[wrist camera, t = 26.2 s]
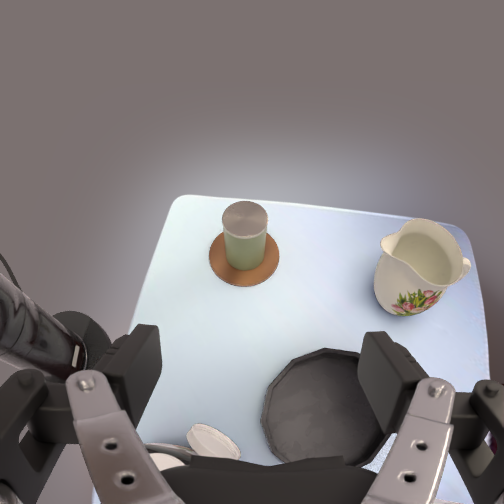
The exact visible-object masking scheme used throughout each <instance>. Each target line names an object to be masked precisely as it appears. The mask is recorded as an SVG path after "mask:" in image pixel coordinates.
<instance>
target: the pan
mask: <svg viewBox="0 0 504 504" xmlns="http://www.w3.org/2000/svg"><path fill="white" fill-rule="evenodd" d="M359 359H360V354H359V353H357V352H351V351H344V350H337V349H330V348H323V349H320V350H317V351H315V352H312V353H309V354H306V355H304V356H301V357H298V358H295V359H293V360H291V362H290V363H289V364H288V365H287V366H286V367H285V368H284V370H283V371H282V372H281V373H280V374H279V375H278V376H277V377H276V379H275V380H274V381H273V382H272V383H271V384H270V385H269V387H268V389H267V392H266V397H265V402H264V406H263V411H262V416H261V420H260V421H261V425H262V428H263V431H264V433H265V436H266V439H267V442H268V444H269V447H270V450H271V452H272V453H273V454H274V455H275V456H276V457H278V458H279V459H280V460H282V461H283V462H284V463H289V462H293V461H298V460H302V459H306V458H319V457H331V456H341V455H343V458H344V462H345V465H348V466H355V467H360V468H361V467H363V466H365V465H367V464H369V463H371V462H372V460H373V459H374V458H375V456H376V455H377V454H378V452H379V451H380V450H381V448H382V447H383V446H384V444H385V443H386V441H387V440H388V438H389V437H390V436H391V434H386V435H384V433H383V431H382V428H381V426H380V424H379V422H378V420H377V418H376V416H375V413H374V411H373V409H372V407H371V405H370V403H369V401H368V399H367V397H366V394H365V392H364V390H363V388H362V386H361V384H360V382H359V380H358V373H357V370H358V363H359Z"/></svg>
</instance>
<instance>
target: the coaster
mask: <svg viewBox="0 0 504 504" xmlns="http://www.w3.org/2000/svg"><path fill="white" fill-rule="evenodd" d="M209 260H210V264H211V267H212V269H213V271H214V272H215V274H216V275H217V276H218V277H219V278H220V279H222V280H223V281H225V282H227V283H229V284H231V285H235V286H245V287H246V286H253V285H257V284H259V283H261V282H263V281H265V280H267V279H268V278H269V277H270V276H271V275H272V274H273V273H274V271H275V270H276V268H277V265H278V262H279V250H278V247H277V244H276V242H275V241H274V239H273V238H272V237H271V236H270V235H269V234H268V233H266V242H265V252H264V259H263V261H262V263H261V264H260V265H259V266H258V267H256V268H254V269H252V270H247V271H243V270H238V269H236V268H234V267H232V266H231V265H230V264H229V263H228V261H227V259H226V251H225V241H224V232H222V233H221V234H219V235H218V236H217V237H216V239H215V240H214V241H213V243H212V245H211V247H210V251H209Z"/></svg>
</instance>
